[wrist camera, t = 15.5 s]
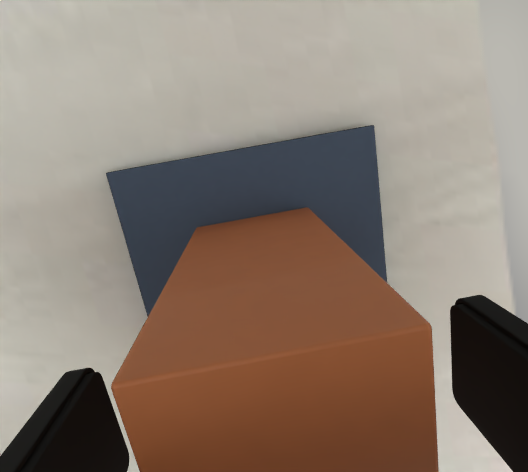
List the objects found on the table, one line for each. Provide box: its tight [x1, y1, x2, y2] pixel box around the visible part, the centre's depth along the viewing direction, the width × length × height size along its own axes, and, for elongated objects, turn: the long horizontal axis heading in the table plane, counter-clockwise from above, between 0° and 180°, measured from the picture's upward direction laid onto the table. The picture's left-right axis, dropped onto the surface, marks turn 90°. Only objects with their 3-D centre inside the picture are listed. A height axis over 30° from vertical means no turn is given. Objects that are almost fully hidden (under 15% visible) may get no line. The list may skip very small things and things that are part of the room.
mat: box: [106, 125, 387, 316], centre depth 14 cm, size 10×12×1 cm
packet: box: [111, 207, 438, 472], centre depth 10 cm, size 7×4×9 cm, turn 10°
